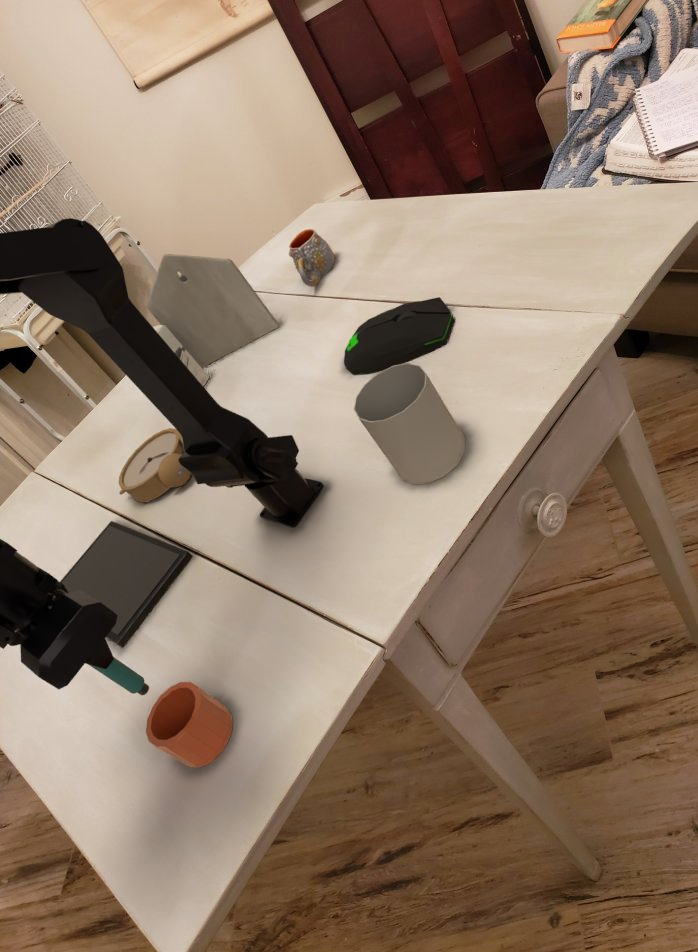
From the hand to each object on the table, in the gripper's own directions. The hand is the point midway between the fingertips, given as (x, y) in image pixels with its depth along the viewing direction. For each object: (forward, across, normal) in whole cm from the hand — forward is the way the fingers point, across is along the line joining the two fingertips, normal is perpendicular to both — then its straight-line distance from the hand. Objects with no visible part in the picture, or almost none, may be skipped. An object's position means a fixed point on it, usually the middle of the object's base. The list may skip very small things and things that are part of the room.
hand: (104, 660), depth 62 cm
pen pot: (+13, +2, 0) cm, 13 cm away
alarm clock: (+13, -35, +25) cm, 45 cm away
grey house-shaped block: (+13, -47, +53) cm, 72 cm away
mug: (+13, -39, +68) cm, 80 cm away
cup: (+13, +7, +36) cm, 39 cm away
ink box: (+13, -49, +40) cm, 65 cm away
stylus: (+6, 0, 0) cm, 6 cm away
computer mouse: (+13, -10, +54) cm, 56 cm away
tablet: (+13, -28, +8) cm, 32 cm away
